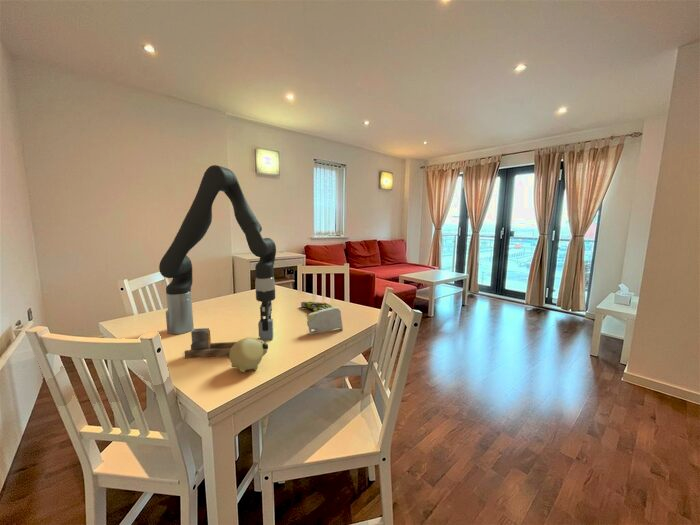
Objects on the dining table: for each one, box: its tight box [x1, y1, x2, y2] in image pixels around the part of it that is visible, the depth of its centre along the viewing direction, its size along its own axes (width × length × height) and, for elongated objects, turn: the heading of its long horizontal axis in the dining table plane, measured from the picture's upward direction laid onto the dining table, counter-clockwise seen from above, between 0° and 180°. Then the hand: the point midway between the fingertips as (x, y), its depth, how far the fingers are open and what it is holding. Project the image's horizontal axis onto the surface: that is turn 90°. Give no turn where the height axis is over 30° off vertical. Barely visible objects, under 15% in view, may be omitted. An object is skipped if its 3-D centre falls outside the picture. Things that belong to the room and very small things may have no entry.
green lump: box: [300, 301, 333, 312], centre depth 156 cm, size 12×7×25 cm
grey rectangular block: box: [257, 318, 274, 341], centre depth 120 cm, size 5×3×8 cm, turn 98°
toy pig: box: [229, 337, 269, 373], centre depth 96 cm, size 10×12×11 cm
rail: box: [184, 327, 237, 360], centre depth 107 cm, size 20×7×9 cm, turn 98°
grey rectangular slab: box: [306, 306, 344, 335], centre depth 128 cm, size 11×3×15 cm
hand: (267, 326), depth 120 cm, fingers open, 8 cm apart
